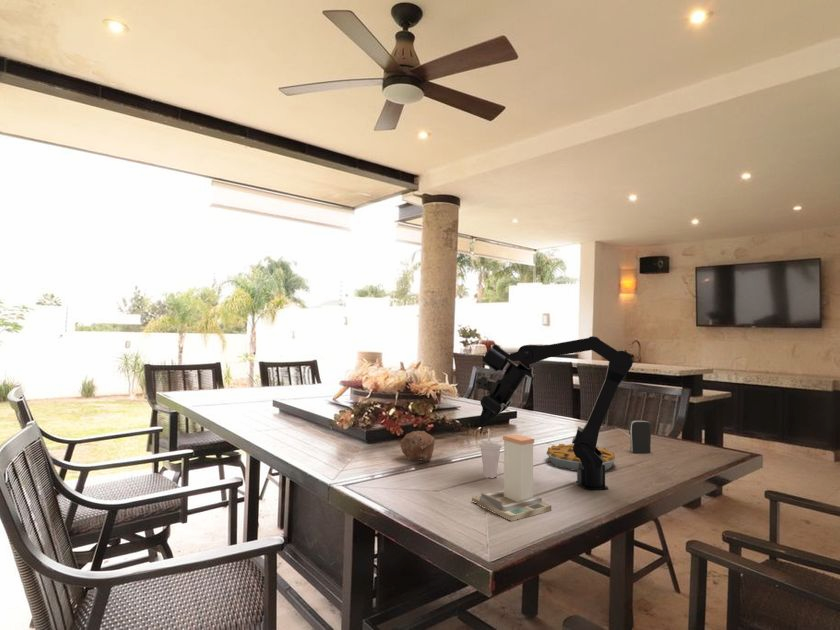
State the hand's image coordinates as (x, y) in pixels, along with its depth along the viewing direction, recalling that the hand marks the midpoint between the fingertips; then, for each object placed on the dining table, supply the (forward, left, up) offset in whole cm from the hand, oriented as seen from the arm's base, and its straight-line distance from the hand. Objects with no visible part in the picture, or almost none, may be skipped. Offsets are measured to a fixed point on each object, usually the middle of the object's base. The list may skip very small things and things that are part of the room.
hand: (482, 423), depth 143 cm
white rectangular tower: (-2, +27, -14) cm, 30 cm away
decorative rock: (+18, -17, -15) cm, 29 cm away
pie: (-35, -8, -15) cm, 39 cm away
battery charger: (-64, -21, -15) cm, 70 cm away
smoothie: (-1, +4, -15) cm, 16 cm away
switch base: (0, +28, -15) cm, 32 cm away
